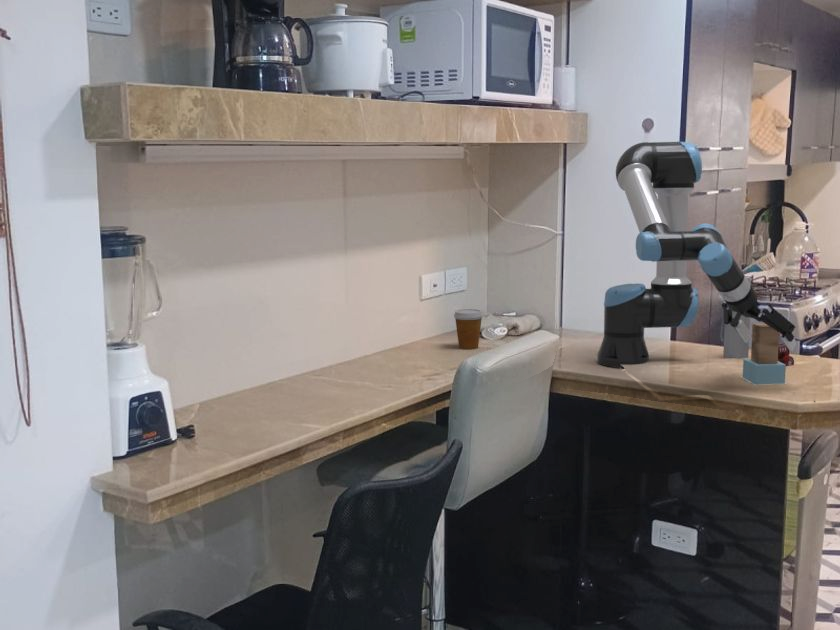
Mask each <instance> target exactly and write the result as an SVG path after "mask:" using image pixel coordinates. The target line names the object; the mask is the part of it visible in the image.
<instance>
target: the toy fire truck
mask: <svg viewBox="0 0 840 630" xmlns="http://www.w3.org/2000/svg"><path fill="white" fill-rule="evenodd" d="M780 334H781V333H779V345H778V361H779V362H781V363H783V364H785V365H786V367H790V366H794V365H795V359H794V357H793V356H791V355H790V352H791V351H790V350H789V349H788V347H787V346H786V344H785V343H784V341H783V340H782V338H781V337H780Z"/></svg>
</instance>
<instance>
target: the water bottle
mask: <svg viewBox="0 0 840 630" xmlns="http://www.w3.org/2000/svg"><path fill="white" fill-rule="evenodd" d="M745 277H746V278H747V280H748V281H749V283H750V285H751V286H752V278H751V276H745ZM736 314H737V312H734V311H732V318H735V316H736ZM740 320H742V321H743V322H744V324H745V325H746V327H747V328H748V330H749V331H750V328H751V317H745V316H743V315H741V317H740V319H739V321H740ZM723 330H724V331H723ZM719 332H720V333H719V334H720V341H721V342H723V350H722V351H723V352H722V355H723V356H722V357H723V358H724V359H749V351H750V350H749V349H750V340H749V341H748V343H745V341H744V340H743V339H742V337H741V336H740V334H739V333H738V332H737V331H736V330H735V328H734V327H732V326H731V324H728V325H727V324H725V323H724V310H723V313H722V319H721V326H720V331H719ZM723 332H724V333H723Z"/></svg>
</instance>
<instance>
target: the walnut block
mask: <svg viewBox="0 0 840 630" xmlns="http://www.w3.org/2000/svg"><path fill="white" fill-rule="evenodd" d="M751 329H752V330H751V334H752V337H751V349H750V354H751V355H750V359H751V361H753V362H755V363H757V364H778V345H779V334H780V333H779V332H778V331H776V330H774V329H773V328H771V327H770V326H768V325H767V324H765V323H764V322H761V323H760V322H759V323H756V322H755V323H752V328H751Z"/></svg>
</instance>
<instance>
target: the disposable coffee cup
mask: <svg viewBox="0 0 840 630" xmlns="http://www.w3.org/2000/svg"><path fill="white" fill-rule="evenodd" d="M453 316H454V317H453V318H454V319H455V325H456V327H455V328H456V333H457V341H458V343H457V344H458V348H459V347H460V348H459V349H461V348H463V349H462V350H474V349H475V350H476V349H478V348H479V343H480V335H481V328H482V327H481V325H482V319H483V317H484V315H483V311H482V310H480V309H477V308H476V309H474V308H466V309H465V308H462V309H457V310H455V312H454V314H453Z"/></svg>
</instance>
